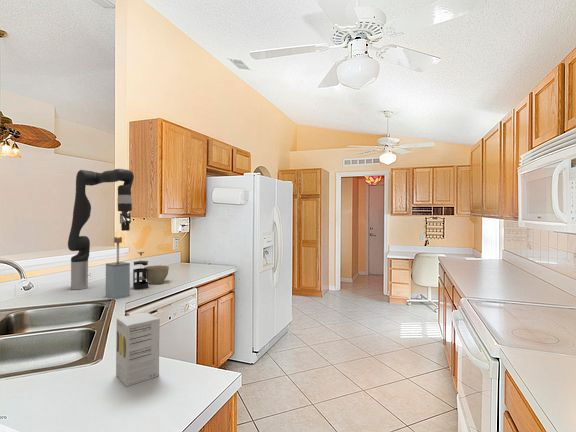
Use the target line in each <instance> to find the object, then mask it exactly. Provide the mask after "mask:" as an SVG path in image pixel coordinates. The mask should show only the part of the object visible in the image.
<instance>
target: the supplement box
mask: <svg viewBox="0 0 576 432" xmlns="http://www.w3.org/2000/svg"><path fill="white" fill-rule="evenodd" d="M160 321H161V319H160V318H159V317H157V316H155V315H153V314H152V313H150V312H149V311H146V312H141V313H135V314H134V313H133V314H129V315H124V316H120V317H117V318H116V332H115V333H116V342H115V343H116V346H115V347H116V349H115V357H116V358H115V375H116V376H117V378H118V379H119V380H120V381H121V383H123V384H124V385H125V387H130V386H132V385H136V384H138V383H141V382H144V381H147V380H150V379H153V378H156V377H159V375H160V326H161V325H160V323H161V322H160Z"/></svg>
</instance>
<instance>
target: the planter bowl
mask: <svg viewBox="0 0 576 432" xmlns="http://www.w3.org/2000/svg"><path fill="white" fill-rule="evenodd" d="M143 268H147V269H148V284H154V285H157V284H163V283H164V281H165V280H166V279H167V277H168V275H169V269H170V267H169V266H168V265H149V266H148V265H146V266H144V267H143ZM146 277H147V272H146Z"/></svg>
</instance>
